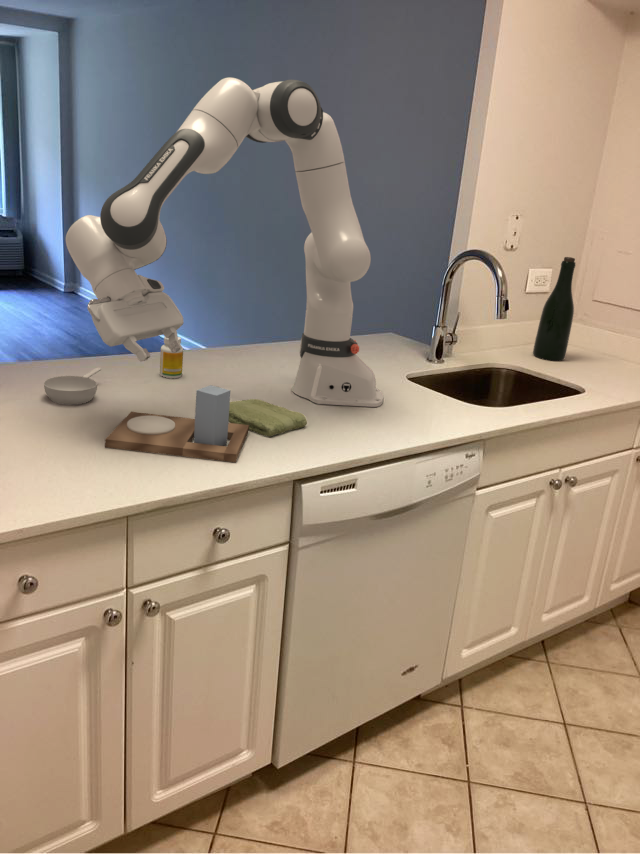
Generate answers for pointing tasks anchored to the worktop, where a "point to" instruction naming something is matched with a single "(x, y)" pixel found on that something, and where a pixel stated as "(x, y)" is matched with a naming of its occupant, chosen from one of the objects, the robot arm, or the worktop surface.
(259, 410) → the washcloth
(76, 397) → the saucepan
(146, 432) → the felt coaster
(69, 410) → the worktop surface
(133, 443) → the walnut board
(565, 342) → the green wine bottle
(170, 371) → the supplement bottle
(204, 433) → the slate block
